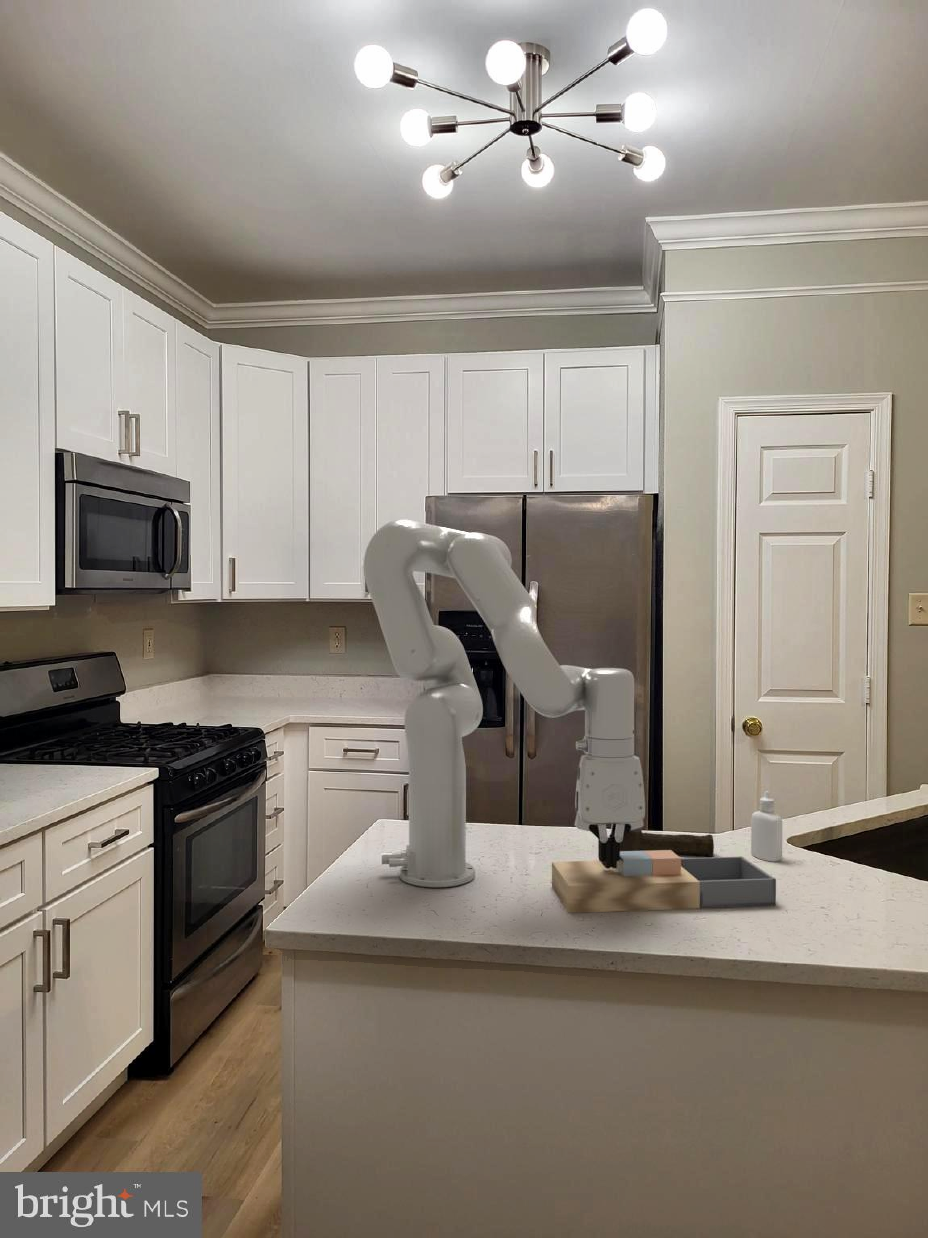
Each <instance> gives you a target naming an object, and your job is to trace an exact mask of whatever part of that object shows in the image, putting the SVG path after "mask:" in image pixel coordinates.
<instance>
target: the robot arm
mask: <svg viewBox="0 0 928 1238" xmlns="http://www.w3.org/2000/svg"><path fill="white" fill-rule="evenodd" d="M367 544H368V545H367V547H366V549H365V553H364V556H363V574H364V580H365V584H366V587H367V590H368V593H369V597H370V598H371V601H372V604H373V607H374V609H375V612H376V615H377V618H378V622H379V625H380V628H381V631H382V634H383V638H384V640H385V643H386V647H387V650H388V653H389V656H390V659H391V662H392V665H393V668H394V669H395V672H396V673H397V675H398V676H399V677H400V678H402V679H403V680H404V681H407V682H410V683H422V685H423V687H424V690H422V691H420V692H419V693H417V694H416V695H415V696H414V697H413V698H412V699H411V700H410V701H409V703H408V705H407V707H406V710H405V715H404V731H405V732H404V733H405V738H406V745H407V746H406V747H407V756H408V804H409V805H408V845H407V844H406V847H405V849H404V850H403V849H402V850H400V852H381V865H388V866H389V868H398V867H400V869H399V878H400V880H402V881H403V882H405V883H407V884H409V885H413V886H417V887H424V888H448V887H457V886H460V885H461V886H462V885H465V884H467V883H469V882H471V881H472V880H473V879H474V878H475V877H476V869H475V867H474V866H473V865H472V864H471V863H467V862H466V859H467V858H466V857H467V856H466V853H467V851H466V850H467V849H466V845H467V844H466V841H467V839H466V838H467V837H466V836H467V835H466V833H467V832H466V831H467V823H466V822H467V820H466V819H467V816H466V815H467V809H466V808H467V803H466V802H467V782H466V781H467V767H466V758H465V751H464V746H463V737H466V736H468V735H470V734H471V733H473V732H474V731H475V730H476V729H477V728H478V727H479V725H480V723H481V721H482V719H483V715H484V714H483V712H484V707H483V699H482V696H481V693H480V691H479V688H478V685H477V682H476V679H475V677H474V674H473V670H472V668H471V664H470V663H469V662H470V661H469V658H468V655H467V653H466V651H465V648H464V645H463V644H462V642H461V640H460V639H459V637H458V636H457V635H456V634H455V633H454V632H453V631H452V630H451V629H448V628H447V627H444V626H441V625H435V624H434V622H433V619H432V617H431V615H430V614H431V613H430V611H429V609H428V605H427V602H426V599H425V597H424V594H423V592H422V591H421V590H420V586H419V584H417V582H416V580H415V578H414V572H419V573H427V574H428V573H429V574H434V575H439V576H443V577H447V578H452V579H455V580H456V581H457V583H458V585H459V586H460V587H461V589H462V590H463V592H464V593H465V595H466V596H467V598H468V599H469V601H470V602H471V604H472V606H473V607H474V608H475V610H476V611H477V613H478V614H479V616H480V618H482V620H483V622H484V623H485V625H486V627H487V628H488V630H489V632H490V634H491V637H492V641H493V643H494V644H493V645H494V646H495V648H496V651H497V653H498V657H499V658H500V660H501V663H502V665H503V667H504V669H505V671H506V672H507V674H508V676H509V677H510V679H511V680H512V682H513V683H514V685H515V687H516V688H517V690H518V691H519V693H520V694H521V695H522V697H523V698H524V700H525V701H526V703H528V705H529V706H530V707H531V708H532V709H533V710H534V711H535V712H537V714H539V715H540V716H544V717H546V718H559V717H562V716H565V715H567V714H569V713H572V712H576V711H584V736H583V738H582V739H581V740H577V741H575V749H576V750H577V751H583V753H584V754H583V755H581V756H580V760H579V764H578V770H577V775H576V777H577V778H576V786H575V787H576V788H575V800H574V801H575V804H574V806H575V807H574V809H575V814H576V815H575V821H574V826H575V828H576V829H578V830H582V831H587V832H591V834H593V835H594V836H595V837H596V838H597V839H598V842H597V843H598V844H597V845H598V846H597V850H598V851H597V852H598V853H597V855H598V861H600V862H602V864H603V865H604V867H605V868H606V869H607V868H611V867H612V868H617V861H619V860H620V842H621V841H622V840H623V837H624V836H625V835H626V834H627V833H628V832H629V831H630V830H633V829H641V828H643V827H644V826H645V824H644V819H645V815H646V800H645V799H646V798H645V787H644V776H643V770H642V764H641V759H640V757H639V756H637V755H635V677H634V675H633V673H632V671H630V670H628V669H625V668H620V667H619V668H617V667H599V668H598V667H597V668H589V667H588V668H586V667H581V666H577V665H570V664H569V665H568V664H562V665H560V664H559V662H558V661H557V660H556V658H555V657H554V656H553V653H552V652H551V651H550V649H549V647H548V646H547V644H546V643H545V641H544V639H543V637H542V635H541V633H540V631H539V627H538V623H537V608H536V604H535V601H534V599H533V597H532V595H530V593H529V592H528V591H527V589H526V588H525V586H524V585H523V583H522V582H521V580H520V579H519V577H518V576H517V574H516V573H515V572H514V570H513V569H512V562H513V561H512V560H513V559H512V554H511V551H510V549H509V547H508V545H507V544H506V543H505V542H504V541H503V540H501V539H500V538H498V537H497V536H494V535H492V534H491V535H490V534H486V533H483V532H476V531H474V532H473V531H471V532H467V531H463V530H457V529H454V528H448V527H442V526H438V525H434V524H430V523H425V522H421V521H418V520H413V519H406V518H403V519H395V520H392V521H388V522H387V523H385V524H383V525H382V526H381V527H380V528H379V529H378V530H376V532H375V533H374V535H372V537H371V538H370V540H369V542H368V543H367ZM607 825H611V826H610V827H611V828H610V834H609V836H608V831H607V830H608V829H607Z"/></svg>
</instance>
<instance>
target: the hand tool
mask: <svg viewBox="0 0 928 1238" xmlns="http://www.w3.org/2000/svg"><path fill="white" fill-rule="evenodd" d="M713 837H714V836H713V834H711V833H709V834H706V835H693V834H661V833H660V834H659V833H658V834H657V833H650V832H643V830H642V829H641V828H637V829H633V830H630V831H629V832H628V833H627V834H626V835H625V836H624V837H623V840H622V841H621V842H620V851H654V850H671V851H673V852H674V853H675V854H683V855H685V854H686V855H695V856H708V857H714V851H715V849H714V847H715V844H714V843H715V842H714V838H713Z"/></svg>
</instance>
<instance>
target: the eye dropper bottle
mask: <svg viewBox="0 0 928 1238" xmlns="http://www.w3.org/2000/svg"><path fill="white" fill-rule="evenodd" d="M774 811H775V799H773V798H772V797H771V795H770V791H764V794H763V797H760V798H759V810H758V811H754V812H753V813H752V814H751V822H750V824H751V825H750V828H751V829H750V830H751V833H750V842H751V843H750V855H751V856H753V857H754V858H756V859H758V860H759V859H760V860H762V861H767V862H771V863H774V862H775V863H776V862H779V861H782V860H783V819H782V818H781V816H779V815H778V814H777V813H776V812H774Z"/></svg>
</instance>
